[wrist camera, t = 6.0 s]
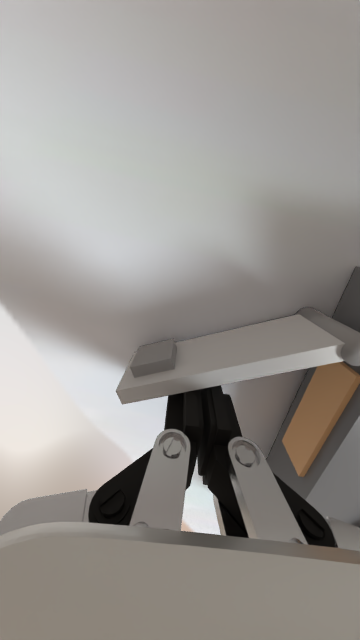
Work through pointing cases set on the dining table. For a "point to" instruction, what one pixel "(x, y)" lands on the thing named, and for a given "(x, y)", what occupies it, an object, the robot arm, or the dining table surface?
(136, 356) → the port door
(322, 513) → the camera body
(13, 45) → the dining table surface
